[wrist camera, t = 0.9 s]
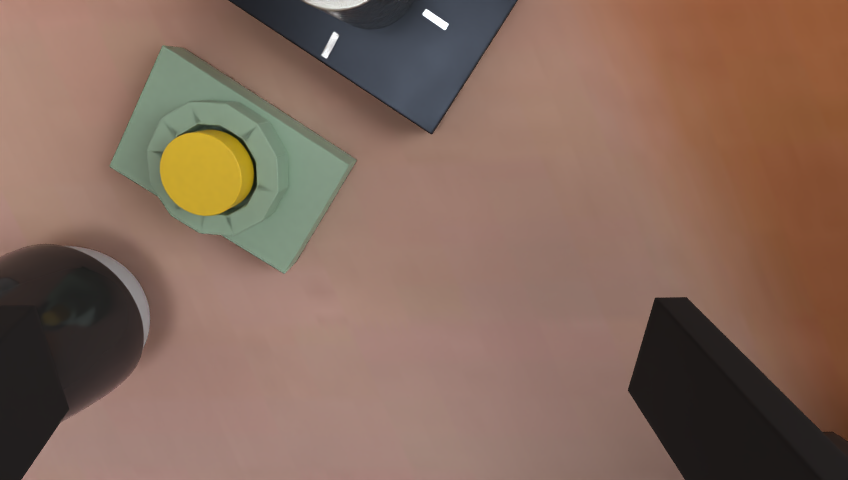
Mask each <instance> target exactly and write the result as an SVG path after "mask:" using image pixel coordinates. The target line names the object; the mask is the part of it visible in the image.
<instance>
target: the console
mask: <svg viewBox="0 0 848 480" xmlns="http://www.w3.org/2000/svg"><path fill="white" fill-rule="evenodd" d="M229 1H230V2H232V3H233V4H235V5H236V6H238V7H239V8H241V9H242V10H244V11H245V12H247V13H248V14H250V15H251V16H253V17H254V18H256V19H257V20H259V21H260V22H262V23H263V24H265V25H266V26H268V27H269V28H271V29H272V30H274V31H275V32H277V33H279V34H280V35H282V36H283V37H285V38H286V39H288V40H289V41H291V42H292V43H294V44H295V45H297V46H298V47H300V48H301V49H303V50H304V51H306V52H307V53H309V54H310V55H312V56H313V57H315V58H316V59H318V60H319V61H321V62H322V63H324V64H325V65H327V66H328V67H330V68H331V69H333V70H334V71H336V72H337V73H339V74H340V75H342V76H344V77H345V78H347V79H348V80H350V81H351V82H353V83H354V84H356V85H357V86H359V87H360V88H362V89H363V90H365V91H366V92H368V93H369V94H371V95H372V96H374V97H375V98H377V99H378V100H380V101H381V102H383V103H384V104H386V105H387V106H389V107H390V108H392V109H393V110H395V111H396V112H398V113H399V114H401V115H402V116H404V117H406V118H407V119H409V120H410V121H412V122H413V123H415V124H416V125H418V126H419V127H421V128H422V129H424V130H425V131H427V132H428V133H430V134H433V132H434V131H435V129H436V128H437V126H438V125H439V123H440V122H441V120H442V118H443V117H444V115H445V114H446V112H447V111H448V109H449V108H450V106H451V104H452V103H453V101H454V100H455V98H456V97H457V95H458V93H459V92H460V90H461V89H462V87H463V86H464V84H465V82H466V81H467V79H468V78H469V76H470V75H471V73H472V71H473V70H474V68H475V67H476V65H477V64H478V62H479V60H480V59H481V57H482V56H483V54H484V53H485V51H486V49H487V48H488V46H489V45H490V43H491V42H492V40H493V38H494V37H495V35H496V34H497V32H498V31H499V29H500V27H501V26H502V24H503V23H504V21H505V20H506V18H507V17H508V15H509V13H510V12H511V10H512V9H513V7H514V6H515V4H516V2H517V1H518V0H414V2H413V4H412V5H411V7H410V8H409V10H408V11H407V12H406V13H405V14H404V15H403V16H402V17H401V18H400V19H399V20H397V21H396V22H394V23H392V24H390V25H388V26H386V27H383V28H378V29H362V28H358V27H354V26H352V25H350V24H348V23H345V22H343V21H341V20H339V19H337V18H335V17H333V16H331V15H329V14H327V13H325V12H323V11H321V10H319V9H317V8H315V7H312V6H310V5H308V4H307V3H305V2H303V1H301V0H229Z"/></svg>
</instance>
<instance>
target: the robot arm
mask: <svg viewBox="0 0 848 480" xmlns="http://www.w3.org/2000/svg"><path fill="white" fill-rule="evenodd" d="M628 391H629V393H630V394H631V396H632V398H633V399H634V401H635V402H636V404H637V405H638V407H639V409H640V410H641V412H642V413H643V415H644V416H645V418H646V419H647V421H648V423H649V424H650V426H651V427H652V429H653V430H654V432H655V434H656V435H657V437H658V438H659V440H660V441H661V443H662V444H663V446H664V448H665V449H666V451H667V452H668V454H669V455H670V457H671V459H672V460H673V462H674V463H675V465H676V466H677V468H678V470H679V471H680V473H681V474H682V476H683V477H684V479H685V480H848V441H846V440H845V439H843V438H842V437H840V436H839V435H837V434H836V433H834V432H822V431H821V430H820V429H819V428H818V427H817V426H816V425H815V424H814V423H813V422H812V421H811V420H809V419H808V418H807V417H806V416H805V415H804V414H803V413H802V412H801V411H800V410H799V409H798V408H797V407H796V406H795V405H794V404H793V403H792V402H791V401H790V400H789V399H788V398H787V397H786V396H785V395H784V394H783V393H782V392H781V391H780V390H779V389H778V388H777V387H776V386H775V385H774V384H773V383H772V382H771V381H770V380H769V379H768V378H767V377H766V376H765V375H764V374H763V373H762V372H761V371H760V370H759V369H758V368H757V367H756V366H755V365H754V364H753V363H752V362H751V361H750V360H749V359H748V358H747V357H746V356H745V355H744V354H743V353H742V352H741V351H740V350H739V349H738V348H737V347H736V346H735V345H734V344H733V343H732V342H731V341H730V340H729V339H728V338H727V337H726V336H725V335H724V334H723V333H722V332H721V331H720V330H719V329H718V328H717V327H716V326H715V325H714V324H713V323H712V322H711V321H710V320H709V319H708V318H707V317H706V316H705V315H704V314H703V313H702V312H701V311H700V310H699V309H698V308H697V307H696V306H695V305H694V304H693V303H692V302H691V301H690V300H689V299H688V298H687V297H676V298H655V300H654V303H653V307H652V310H651V313H650V317H649V320H648V324H647V327H646V330H645V334H644V337H643V341H642V344H641V347H640V351H639V354H638V358H637V361H636V364H635V368H634V371H633V375H632V378H631V381H630V385H629V388H628ZM68 410H69V406H68V403H67V400H66V397H65V394H64V391H63V388H62V385H61V382H60V379H59V376H58V372H57V369H56V366H55V363H54V360H53V357H52V354H51V351H50V348H49V345H48V342H47V339H46V336H45V333H44V330H43V327H42V324H41V321H40V318H39V315H38V312H37V308H36V305H0V480H21V479H22V478H23V476H24V475H25V474H26V472H27V471H28V469H29V468H30V466H31V465H32V463H33V462H34V460H35V459H36V457H37V456H38V454H39V453H40V451H41V450H42V449H43V447H44V446H45V444H46V443H47V441H48V440H49V438H50V437H51V435H52V434H53V432H54V431H55V429H56V428H57V426H58V425H59V424H60V422H61V421H62V419H63V418H64V416H65V415H66V413H67V412H68Z"/></svg>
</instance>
